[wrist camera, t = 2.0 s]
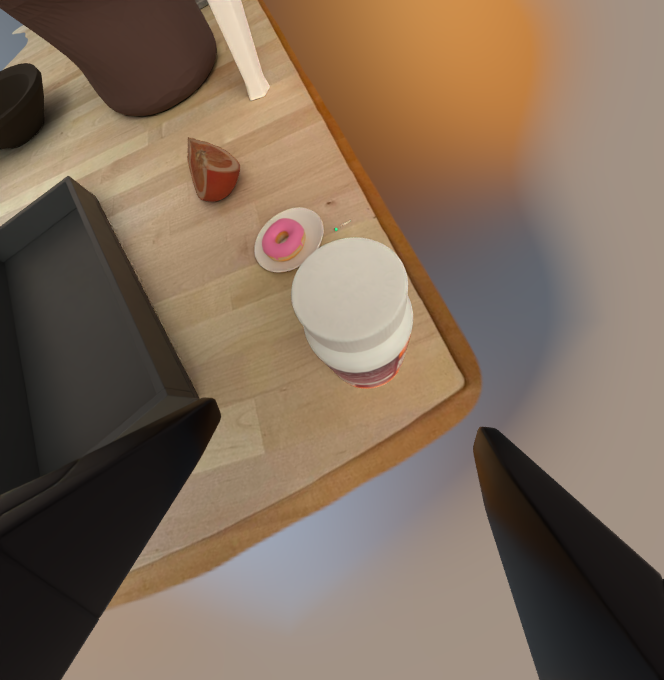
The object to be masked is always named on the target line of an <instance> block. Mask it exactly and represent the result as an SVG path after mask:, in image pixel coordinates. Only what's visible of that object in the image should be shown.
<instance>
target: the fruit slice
mask: <svg viewBox="0 0 664 680" xmlns="http://www.w3.org/2000/svg"><path fill="white" fill-rule="evenodd" d="M187 158H188V163H189V168H190V172H191V176H192V179H193V183H194V187H195V190H196V193H197V195H198V197H199V198H200V199H201V200H204V201H211V202H213V201H219V200H221V199H223V198H225V197H226V196H228V195H229V194H230V193H231V191H232V190H233V188H234V187H235V185H236V183H237V180H238V176H239V172H240V164H239V162H238V161H237V160H236V159H235V158H234V157H233V156H232V155H231V154H230V153H228V152H227V151H226V150H224V149H222V148H221V147H218V146H215V145H212V144H210V143H207V142H204V141H200V140H196V139H194V138H189V137H188V157H187Z"/></svg>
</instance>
